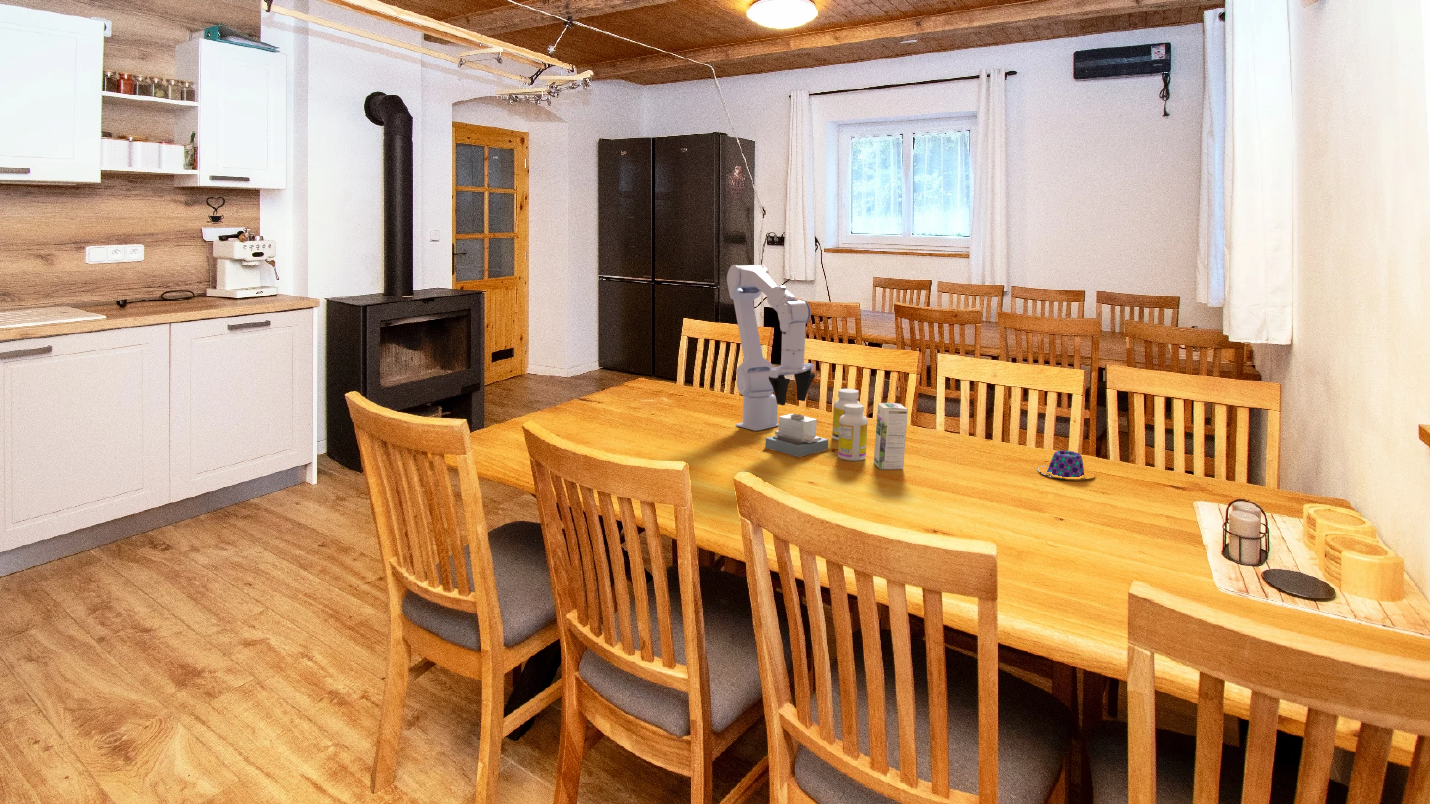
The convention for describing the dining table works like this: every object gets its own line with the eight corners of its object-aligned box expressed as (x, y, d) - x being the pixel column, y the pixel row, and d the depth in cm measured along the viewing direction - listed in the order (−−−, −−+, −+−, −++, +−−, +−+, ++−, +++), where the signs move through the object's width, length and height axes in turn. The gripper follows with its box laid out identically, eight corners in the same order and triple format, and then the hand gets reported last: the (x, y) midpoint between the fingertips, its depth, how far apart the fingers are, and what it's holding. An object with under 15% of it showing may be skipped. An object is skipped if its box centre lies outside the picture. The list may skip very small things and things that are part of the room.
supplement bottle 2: (862, 453, 205) (865, 402, 202) (868, 461, 198) (871, 408, 196) (835, 453, 205) (837, 402, 202) (840, 461, 198) (842, 408, 195)
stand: (794, 440, 216) (795, 429, 216) (828, 449, 209) (828, 438, 208) (765, 447, 209) (765, 436, 208) (798, 457, 201) (799, 445, 201)
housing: (787, 431, 214) (787, 410, 213) (820, 440, 206) (821, 418, 205) (773, 434, 211) (774, 413, 210) (807, 443, 203) (808, 421, 201)
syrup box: (872, 462, 198) (876, 402, 194) (897, 462, 198) (901, 402, 195) (879, 469, 192) (883, 408, 189) (904, 469, 193) (908, 408, 189)
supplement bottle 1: (841, 443, 214) (844, 394, 211) (826, 436, 220) (829, 388, 218) (865, 440, 217) (867, 392, 214) (849, 434, 223) (852, 386, 221)
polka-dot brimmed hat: (1033, 466, 198) (1035, 444, 197) (1087, 469, 196) (1090, 448, 194) (1042, 481, 187) (1044, 458, 185) (1099, 485, 184) (1102, 462, 183)
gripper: (785, 354, 201) (783, 409, 204) (824, 348, 211) (821, 401, 214) (764, 350, 207) (762, 404, 209) (803, 345, 216) (801, 396, 219)
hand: (791, 402), depth 212 cm, fingers open, 7 cm apart
